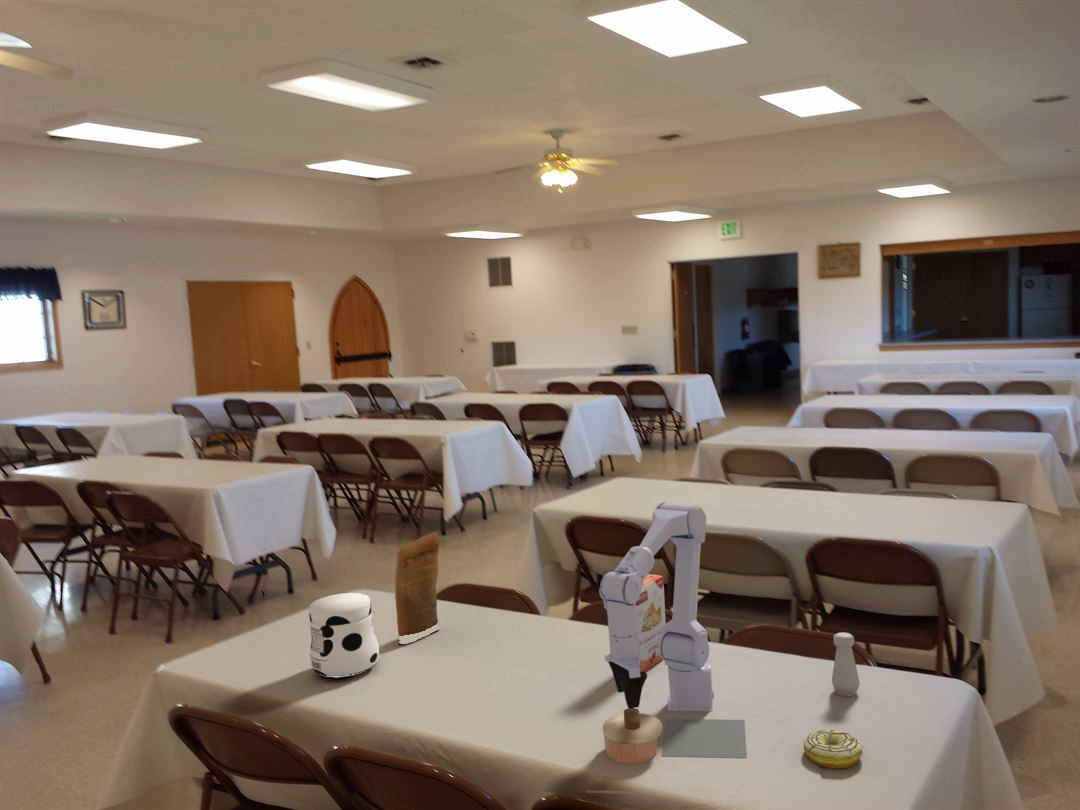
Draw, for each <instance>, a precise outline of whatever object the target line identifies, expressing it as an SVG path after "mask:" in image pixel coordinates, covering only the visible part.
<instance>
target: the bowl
mask: <svg viewBox="0 0 1080 810" xmlns="http://www.w3.org/2000/svg"><path fill="white" fill-rule="evenodd" d="M603 736H604V735H603ZM603 740H604V750H605V754H606V756H607V757H608V758H609V759H611V760H612V761H615V762H616V763H617V762H618V763H621V764H639V763H643V762H644V763H645V762H648V761H650V760H651V759H653V758H654V757H656V755H657V753H658V737H657V738H656V739H654V740H652V741H649V742H646V743H640V744H622V743H617V742H614V741H611V740H609V739H608V738H606V737H605V736H604V738H603Z"/></svg>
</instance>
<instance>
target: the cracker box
mask: <svg viewBox="0 0 1080 810" xmlns="http://www.w3.org/2000/svg"><path fill="white" fill-rule="evenodd" d="M664 581H665V580H664V576H663V575H659V574H651V573H650V574H649V573H648V575H647V576H646V578H645V579H644V580H643V583H644V584H643V587H642V589H641V594H640V597H639V600H637V602H636V611H637V625H638V639H639V652H640V653H641V659H640V664H639V667H640V672H644V671H645V672H647V671H648V670H649V669H651V668H652V667H654V666H655V665H657V664H658V663H660V662H661V661H664V660H663V659H662V658H661V657H660V655H659V651H658V643H659V640H660V637H661V633H662V627H663V626H664V625H665V624H666V623H667V622H666V606H665V605H666V604H665V586H664Z"/></svg>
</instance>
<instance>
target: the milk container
mask: <svg viewBox="0 0 1080 810" xmlns="http://www.w3.org/2000/svg"><path fill="white" fill-rule="evenodd" d="M371 603H372V602H371V599H370V596H369V595H367V594H365V593H361V592H348V593H347V592H345V593H337V594H333V595H326V596H324V597H321V598H319V599H316V600H314V601H313V602H312V603H310V605H309V610H308V611H309V613H308V614H309V627H310V634H311V643H310V650H309V661H310V665H311V668H312V670H313V672H314V671H315V672H316V673H318V674H321V675H324V676H345V675H352V674H357V673H360V672H363V671H366V670H368V669H369V670H371V669H372V668H374V667H375V665H376V664H377V663H378V661H379V655H380V646H379V641H378V638H377V636H376V633H375V631H374V621H373V612H372V604H371ZM371 667H372V668H371ZM370 668H371V669H370ZM369 670H368V671H369ZM315 672H314V673H315ZM366 672H367V671H366ZM316 673H315V674H316ZM318 674H317V675H318Z"/></svg>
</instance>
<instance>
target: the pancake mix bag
mask: <svg viewBox="0 0 1080 810" xmlns="http://www.w3.org/2000/svg"><path fill="white" fill-rule="evenodd" d="M439 545H440V544H439V537H438V533H437V532H435V531H433V532H430V533H428V534H425V535H423V536H422V537H419V538H417V539H416V540H414V541H412V542H409V543H407V544H405V545H403V546H401V547H399V548H398V551H397V552H396V562H395V573H394V576H395V577H394V591H395V592H394V598H395V599H394V601H395V609H396V625H397V631H398V637H399V636H404V635H410V634H415V633H419V632H422V631H425V630H426V629H428V628H431V627H432V626H434V625H436V624H437V623H438V621H439V619H438V609H437V608H438V605H437V604H438V599H437V598H438V597H437V579H438V575H439V562H438V560H439Z"/></svg>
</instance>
